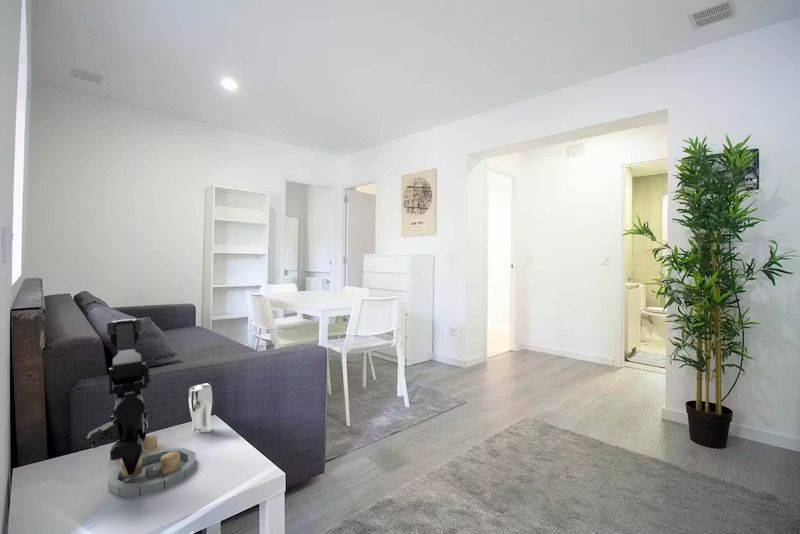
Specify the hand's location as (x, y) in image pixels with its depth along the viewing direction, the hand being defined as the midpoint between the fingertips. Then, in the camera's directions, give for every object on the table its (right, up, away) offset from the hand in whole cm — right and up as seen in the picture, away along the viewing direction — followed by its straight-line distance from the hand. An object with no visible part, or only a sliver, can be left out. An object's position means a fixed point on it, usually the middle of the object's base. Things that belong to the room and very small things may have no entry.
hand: (132, 469), depth 98 cm
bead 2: (-5, -3, +14) cm, 16 cm away
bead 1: (0, -1, 0) cm, 1 cm away
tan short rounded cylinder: (+9, -2, +2) cm, 9 cm away
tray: (+4, -3, +2) cm, 6 cm away
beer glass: (+3, -3, +29) cm, 30 cm away
